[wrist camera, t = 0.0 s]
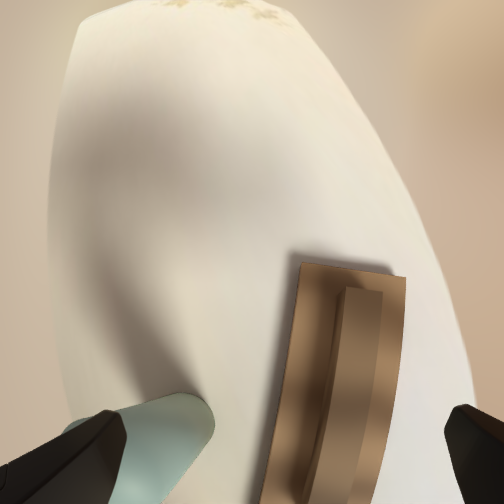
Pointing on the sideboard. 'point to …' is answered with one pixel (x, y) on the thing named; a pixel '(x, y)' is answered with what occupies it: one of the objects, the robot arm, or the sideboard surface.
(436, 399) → the sideboard surface
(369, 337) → the ridge stand
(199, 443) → the dowel
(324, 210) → the sideboard surface
